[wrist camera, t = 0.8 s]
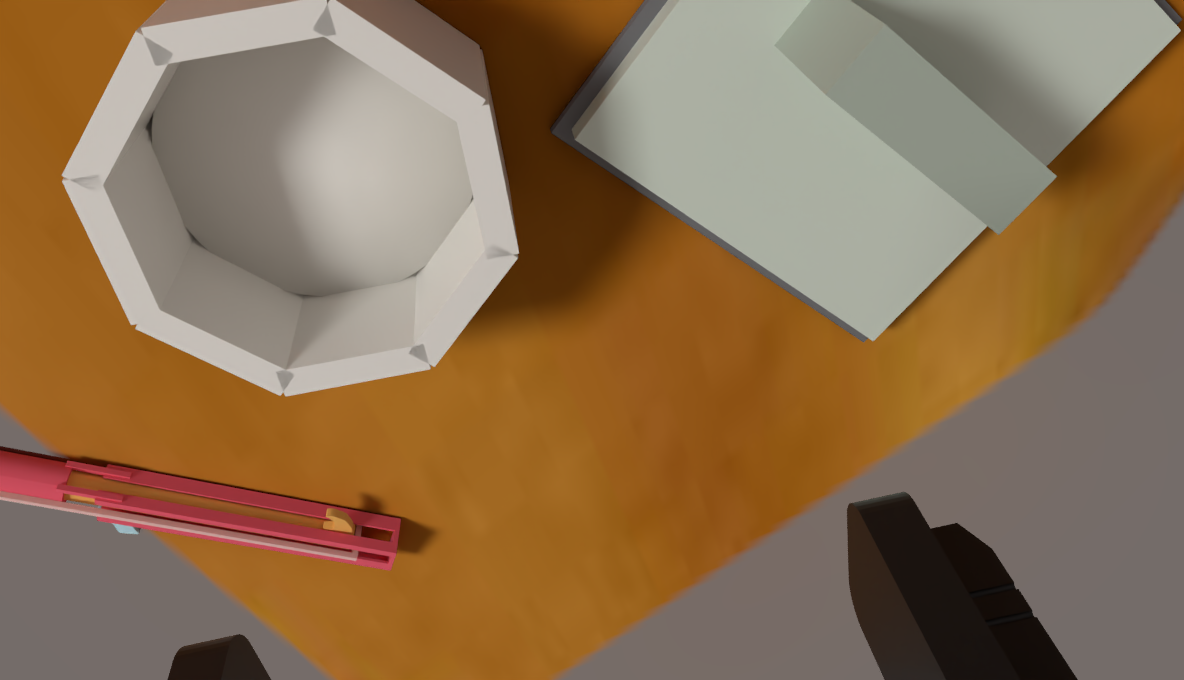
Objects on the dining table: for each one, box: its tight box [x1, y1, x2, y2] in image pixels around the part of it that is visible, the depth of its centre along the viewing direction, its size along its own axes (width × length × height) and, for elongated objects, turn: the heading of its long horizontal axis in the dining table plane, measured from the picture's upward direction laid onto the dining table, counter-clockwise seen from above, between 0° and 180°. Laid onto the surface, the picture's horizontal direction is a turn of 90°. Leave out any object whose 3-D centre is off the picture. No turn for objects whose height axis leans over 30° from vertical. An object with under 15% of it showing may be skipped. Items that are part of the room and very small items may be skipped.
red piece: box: [0, 446, 401, 570], centre depth 39 cm, size 24×2×5 cm
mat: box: [550, 0, 1182, 342], centre depth 34 cm, size 16×16×1 cm
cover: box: [572, 0, 1181, 341], centre depth 31 cm, size 15×15×6 cm
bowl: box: [62, 0, 519, 396], centre depth 30 cm, size 12×12×6 cm
